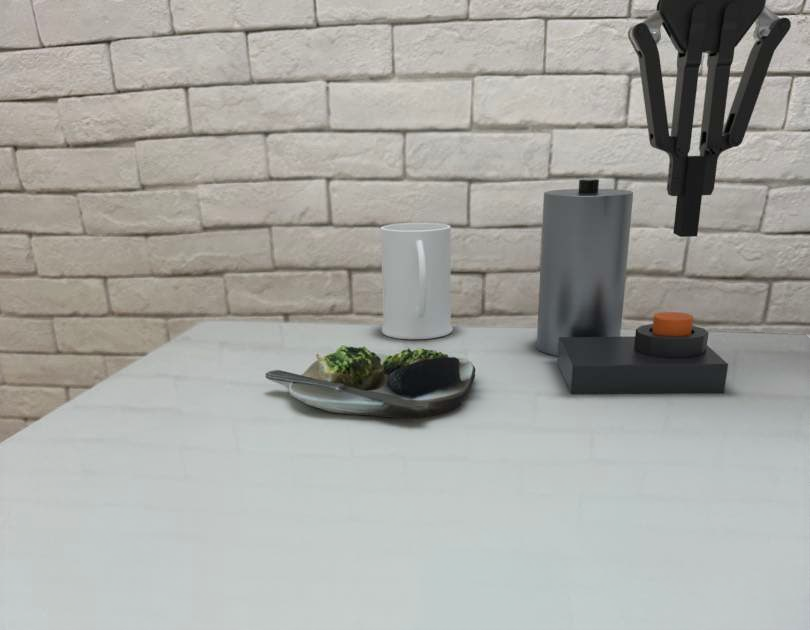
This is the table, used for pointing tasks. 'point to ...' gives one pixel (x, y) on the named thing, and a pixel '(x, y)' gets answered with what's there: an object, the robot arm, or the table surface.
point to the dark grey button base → (642, 363)
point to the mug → (416, 280)
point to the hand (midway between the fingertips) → (685, 234)
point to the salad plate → (382, 382)
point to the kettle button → (672, 324)
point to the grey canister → (582, 263)
